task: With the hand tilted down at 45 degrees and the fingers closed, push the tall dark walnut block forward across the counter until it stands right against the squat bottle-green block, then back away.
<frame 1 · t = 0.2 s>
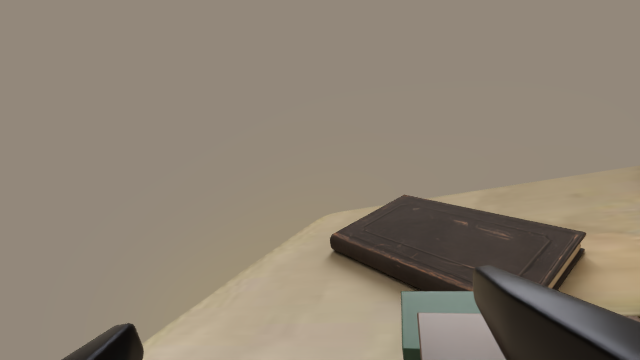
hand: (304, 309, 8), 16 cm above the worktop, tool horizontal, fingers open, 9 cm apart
hardcover book: (443, 252, 39), on the worktop
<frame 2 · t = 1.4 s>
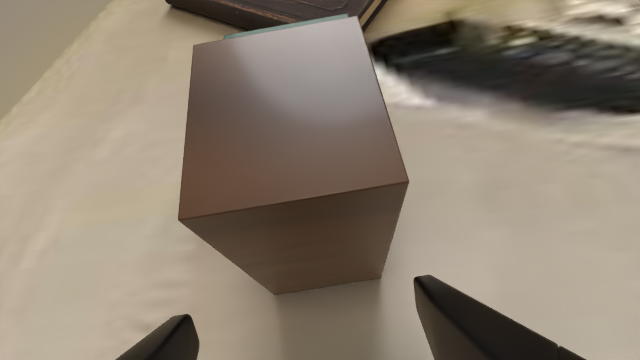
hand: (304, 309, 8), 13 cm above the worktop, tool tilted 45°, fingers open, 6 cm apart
green block: (303, 115, 28), on the worktop
walnut block: (319, 228, 23), on the worktop
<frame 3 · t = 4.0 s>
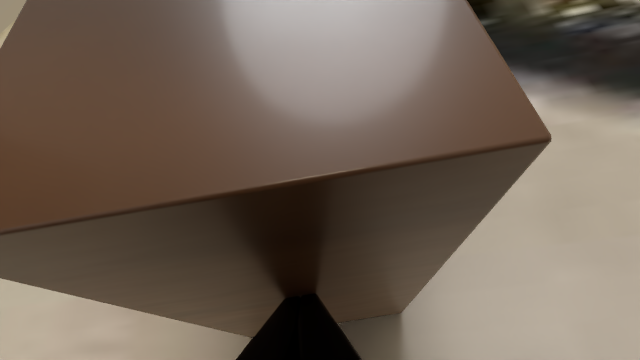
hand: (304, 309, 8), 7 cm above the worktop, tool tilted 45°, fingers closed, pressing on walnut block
walnut block: (313, 240, 17), on the worktop, touching gripper
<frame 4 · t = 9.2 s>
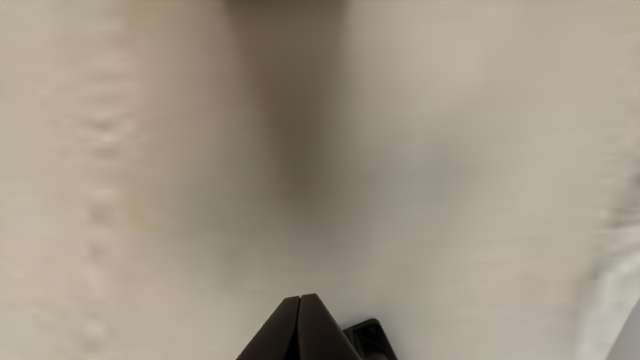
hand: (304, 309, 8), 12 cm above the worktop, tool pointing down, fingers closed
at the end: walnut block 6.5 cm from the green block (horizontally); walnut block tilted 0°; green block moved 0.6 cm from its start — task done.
